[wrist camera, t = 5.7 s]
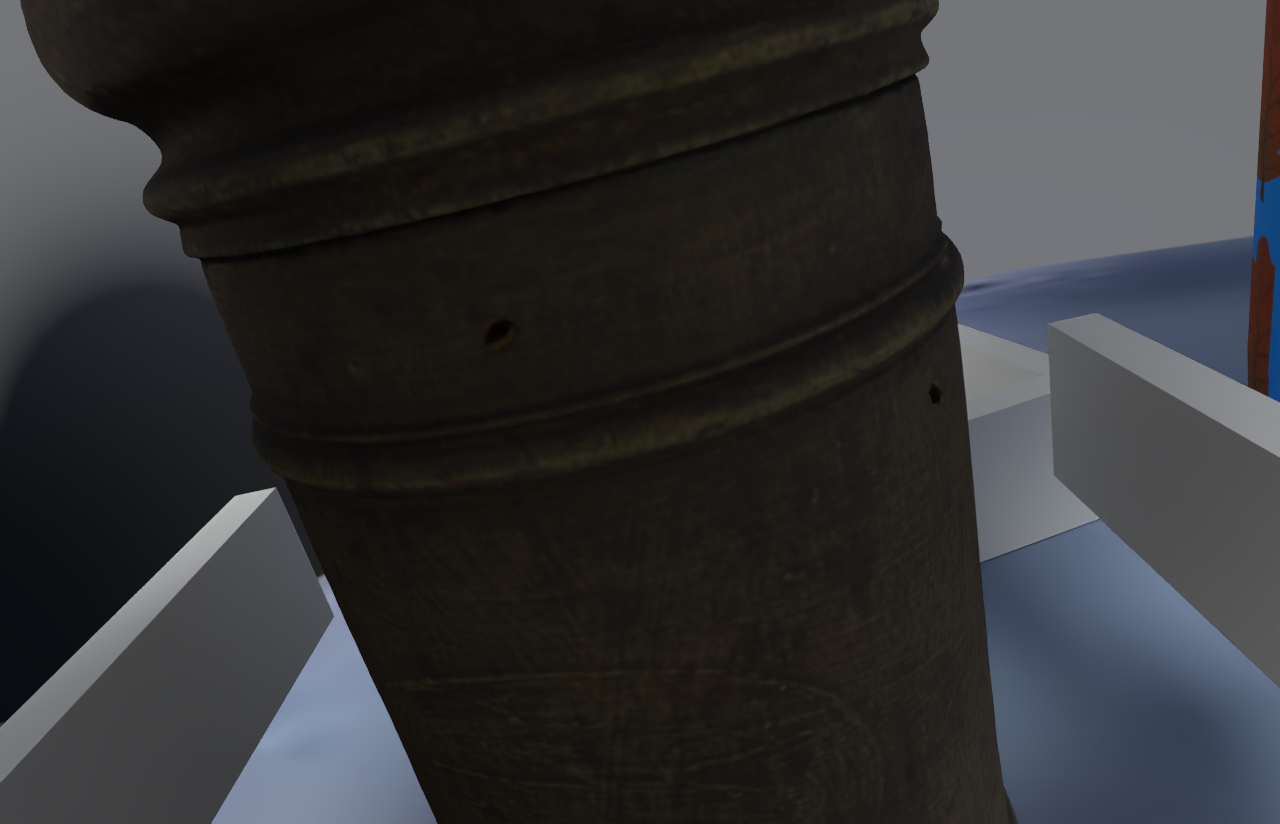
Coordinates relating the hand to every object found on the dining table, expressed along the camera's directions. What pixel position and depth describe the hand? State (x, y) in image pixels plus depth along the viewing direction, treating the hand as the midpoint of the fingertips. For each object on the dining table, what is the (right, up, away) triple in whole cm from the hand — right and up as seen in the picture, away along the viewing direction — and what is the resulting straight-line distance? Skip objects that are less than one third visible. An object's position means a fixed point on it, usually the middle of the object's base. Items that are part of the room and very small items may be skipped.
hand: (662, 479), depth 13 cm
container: (+2, -10, +1) cm, 11 cm away
